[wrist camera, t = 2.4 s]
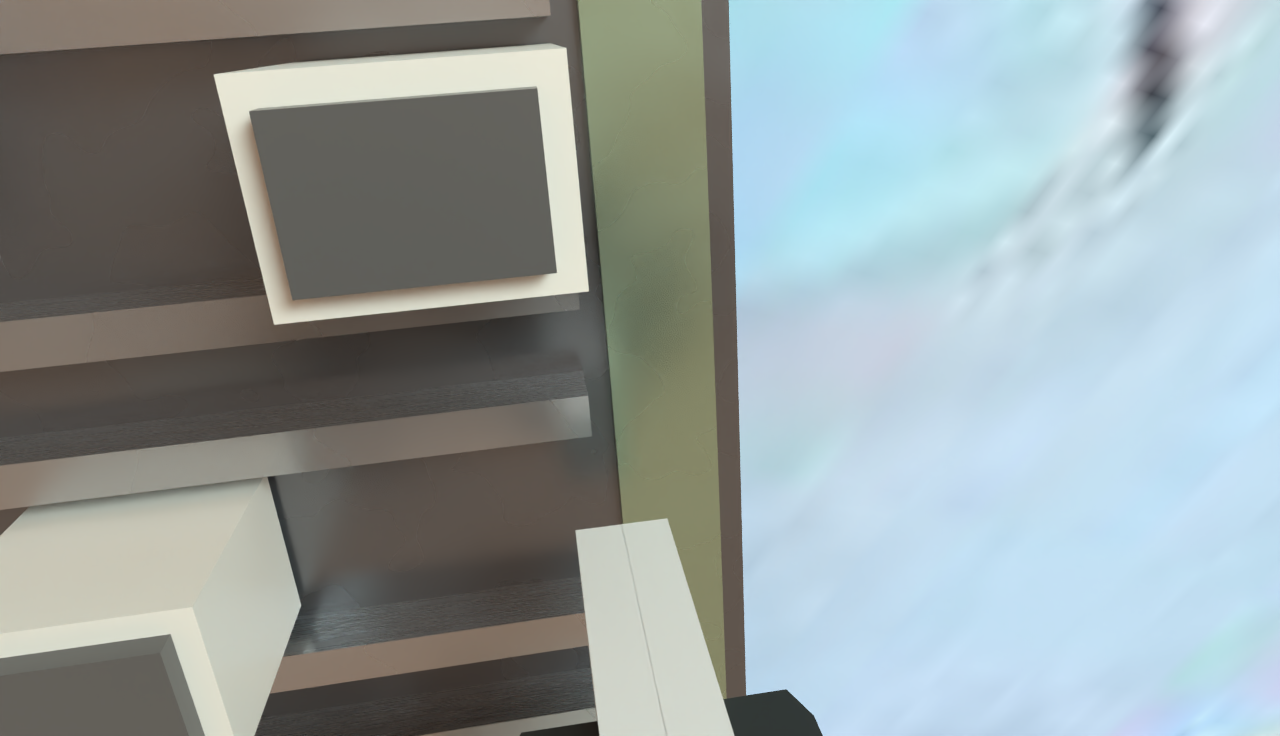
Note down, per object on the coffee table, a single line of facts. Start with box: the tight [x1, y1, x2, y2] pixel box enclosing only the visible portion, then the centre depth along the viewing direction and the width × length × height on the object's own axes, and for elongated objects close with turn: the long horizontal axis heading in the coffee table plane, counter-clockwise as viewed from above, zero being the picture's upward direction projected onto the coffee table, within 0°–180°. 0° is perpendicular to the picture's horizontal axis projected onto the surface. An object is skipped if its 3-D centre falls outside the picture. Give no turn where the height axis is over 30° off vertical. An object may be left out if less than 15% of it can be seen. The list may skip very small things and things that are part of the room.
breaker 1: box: [0, 477, 301, 736], centre depth 14 cm, size 4×3×4 cm
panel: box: [0, 0, 746, 736], centre depth 17 cm, size 20×22×3 cm
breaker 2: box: [214, 43, 589, 325], centre depth 12 cm, size 4×3×4 cm
